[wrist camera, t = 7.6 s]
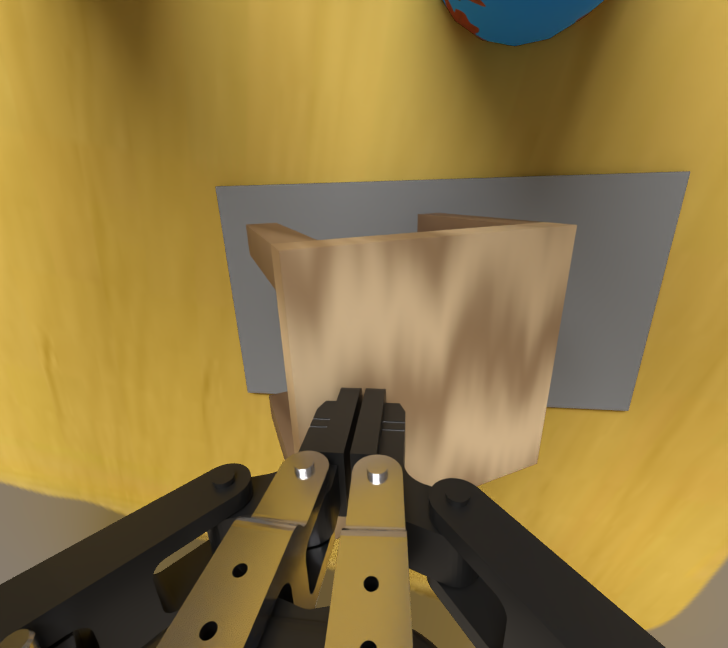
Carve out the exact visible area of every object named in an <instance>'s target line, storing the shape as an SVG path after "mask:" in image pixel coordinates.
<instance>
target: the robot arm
mask: <svg viewBox="0 0 728 648" xmlns="http://www.w3.org/2000/svg"><path fill="white" fill-rule="evenodd" d="M338 516H341V517H346V525H345V528H342V530H341V533H340V539H339V546H338V554H337V561H336V568H335V576H334V583H333V590H332V598H331V605H330V606H328V607H322V608H316V609H315V607H316V602H317V599H318V596H319V592H320V589H321V586H322V582H323V579H324V576H325V572H326V569H327V565H328V562H329V559H330V555H331V552H332V549H333V545H334V542H335V528H336V524H337V519H338ZM205 532H207V533H208V537H209V540H208V541H206V542H205V543H203V544H202V545H200V546H199V547H197V548H196V549H194V550H193V551H191V552H190V553H188V554H187V555H185V556H184V557H182V558H181V559H179V560H178V561H177V562H175V563H173V564H172V565H170V566H169V567H167V568H166V569H164V570H163V571H161V572H159V573H157V574H153V573H154V571H155V569H156V567H157V566H158V565H159V563H160V562H161V561H163V560H164V559H165V558H167V557H168V556H170V555H171V554H173V553H174V552H176V551H177V550H179V549H180V548H182V547H184V546H185V545H187V544H188V543H190V542H191V541H193V540H194V539H196V538H197V537H199V536H200V535H202V534H204V533H205ZM409 569H412V570H414V571H416V572H418V573H421V574H423V575H425V576H427V580H428V583H429V585H430V587H431V589H432V590H433V591H434V593H435V594H436V595H437V597H438V598H439V599H440V601H441V602H442V603H443V605H444V606H445V607H446V609H447V610H448V611H449V613H450V614H451V615H452V617H453V618H454V619H455V621H456V622H457V623H458V625H459V626H460V627H461V628H462V630H463V631H464V633H465V634H466V635H467V637H468V638H469V639H470V641H471V642H472V643H473V645H474V646H475V647H476V648H665V647H664V646H663V645H662V644H661V643H660V642H658V641H657V640H656V639H655V638H654V637H652V636H651V635H650V634H649V633H648V632H647V631H645V630H644V629H643V628H642V627H641V626H640V625H638V624H637V623H636V622H635V621H634V620H633V619H631V618H630V617H629V616H628V615H627V614H625V613H624V612H623V611H622V610H621V609H620V608H618V607H617V606H616V605H615V604H614V603H613V602H611V601H610V600H609V599H608V598H607V597H606V596H604V595H603V594H602V593H601V592H600V591H598V590H597V589H596V588H595V587H594V586H593V585H591V584H590V583H589V582H588V581H587V580H586V579H584V578H583V577H582V576H581V575H580V574H579V573H577V572H576V571H575V570H574V569H573V568H572V567H570V566H569V565H568V564H567V563H566V562H564V561H563V560H562V559H561V558H560V557H559V556H557V555H556V554H555V553H554V552H553V551H552V550H550V549H549V548H548V547H547V546H546V545H545V544H543V543H542V542H541V541H540V540H539V539H537V538H536V537H535V536H534V535H533V534H532V533H530V532H529V531H528V530H527V529H526V528H525V527H523V526H522V525H521V524H520V523H519V522H518V521H516V520H515V519H514V518H513V517H512V516H510V515H509V514H508V513H507V512H506V511H505V510H503V509H502V508H501V507H500V506H499V505H498V504H496V503H495V502H494V501H493V500H492V499H491V498H489V497H488V496H487V495H486V494H485V493H483V492H482V491H481V490H480V489H479V488H478V487H476V486H475V485H474V484H472V483H470V482H468V481H466V480H463V479H458V478H446V479H442V480H440V481H438V482H436V483H435V484H434V485H433V486H429V485H426V484H423V483H421V482H418V481H417V480H415V479H414V478H412V477H411V476H410V475H409V474H408V473H407V471H406V469H405V410H404V409H403V407H402V406H401V404H400V403H386V389H376V388H366V389H365V393H364V397H363V395H362V388H343V387H342V388H341V389H340V392H339V395H338V398H337V400H336V401H325V402H324V403H323V404H322V405H321V406H320V407H318V408H317V410H316V413H315V415H314V417H313V420H312V422H311V424H310V427H309V429H308V431H307V433H306V436H305V438H304V440H303V442H302V445H301V447H300V449H299V452H298V453H295V454H293V455H291V456H289V457H288V458H287V459H285V461H284V462H283V463H282V464H281V466H280V468H279V470H278V471H277V472H274V473H271V474H266V475H260V476H255V477H251V474H250V471H249V469H248V468H247V467H246V466H244V465H241V464H235V463H234V464H225V465H222V466H219V467H216V468H214V469H212V470H210V471H209V472H207V473H205V474H203V475H201V476H199V477H198V478H196V479H194V480H192V481H190V482H188V483H187V484H185V485H183V486H181V487H179V488H177V489H176V490H174V491H172V492H170V493H168V494H166V495H164V496H163V497H161V498H159V499H157V500H155V501H153V502H152V503H150V504H148V505H146V506H144V507H142V508H141V509H139V510H137V511H135V512H133V513H131V514H129V515H128V516H126V517H124V518H122V519H120V520H118V521H117V522H115V523H113V524H111V525H109V526H108V527H106V528H104V529H102V530H100V531H98V532H96V533H94V534H93V535H91V536H89V537H87V538H85V539H83V540H82V541H80V542H78V543H76V544H74V545H72V546H71V547H69V548H67V549H65V550H63V551H62V552H60V553H58V554H56V555H54V556H52V557H50V558H48V559H47V560H45V561H43V562H41V563H39V564H38V565H36V566H34V567H32V568H30V569H28V570H26V571H25V572H23V573H21V574H19V575H17V576H15V577H13V578H12V579H10V580H8V581H6V582H4V583H2V584H1V585H0V648H437V647H436V646H435V645H434V644H433V643H432V642H431V641H429V640H428V639H427V638H425V637H424V636H423V635H422V634H420V633H418V632H417V631H415V630H413V629H412V621H411V601H410V583H409Z"/></svg>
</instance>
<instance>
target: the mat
mask: <svg viewBox="0 0 728 648" xmlns="http://www.w3.org/2000/svg"><path fill="white" fill-rule="evenodd" d="M689 175H690V171H688V172H656V173H625V174H594V175H562V176H531V177H500V178H468V179H437V180H406V181H374V182H343V183H312V184H280V185H249V186H217V187H216V193H217V200H218V206H219V212H220V219H221V225H222V231H223V238H224V244H225V250H226V257H227V263H228V269H229V276H230V282H231V288H232V295H233V301H234V307H235V314H236V320H237V326H238V333H239V339H240V345H241V352H242V358H243V364H244V371H245V377H246V383H247V390H248V392H249V393H269V394H278V393H282V392H287V382H286V374H285V365H284V356H283V348H282V339H281V330H280V321H279V313H278V304H277V295H276V290H275V289H274V287H273V286H272V285H271V283H270V282H269V281H268V279H267V278H266V276H265V275H264V274H263V272H262V271H261V269H260V268H259V267H258V265H257V264H256V263H255V261H254V260H253V258H252V257H251V256H250V252H249V245H248V237H247V230H246V224H262V223H278V224H281V225H283V226H285V227H288V228H290V229H292V230H295V231H297V232H299V233H302V234H304V235H306V236H309V237H311V238H314V239H316V240H327V239H339V238H352V237H364V236H377V235H389V234H402V233H414V232H417V225H418V214H429V213H447V214H459V215H470V216H481V217H493V218H504V219H516V220H527V221H539V222H550V223H561V224H573V225H577V229H576V235H575V241H574V247H573V252H572V258H571V264H570V270H569V276H568V282H567V288H566V294H565V300H564V306H563V312H562V318H561V324H560V330H559V336H558V341H557V347H556V353H555V359H554V365H553V371H552V377H551V383H550V389H549V395H548V401H547V407H560V408H581V409H602V410H622V411H628V410H629V406H630V402H631V398H632V395H633V391H634V387H635V383H636V379H637V375H638V371H639V368H640V364H641V360H642V356H643V352H644V348H645V345H646V341H647V337H648V333H649V329H650V325H651V321H652V318H653V314H654V310H655V306H656V302H657V298H658V295H659V291H660V287H661V283H662V279H663V275H664V271H665V268H666V264H667V260H668V256H669V252H670V248H671V245H672V241H673V237H674V233H675V229H676V225H677V221H678V218H679V214H680V210H681V206H682V202H683V198H684V194H685V191H686V187H687V183H688V179H689Z"/></svg>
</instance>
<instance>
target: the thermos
mask: <svg viewBox="0 0 728 648" xmlns="http://www.w3.org/2000/svg"><path fill="white" fill-rule="evenodd" d="M603 1H604V0H443V2H444V4H445V5H446V7H447V8H448V10H449V12H450V13H451V15H452V17H453V18H454V20H455V21H456V22H457V23H459V24H460V25H462V26H463V27H465V28H466V29H467V30H469V31H470V32H472V33H473V34H474V35H476V36H477V37H479V38H480V39H481V40H485V41H490V42H495V43H500V44H506V45H511V46H517V45H522V44H527V43H531V42H536V41H541V40H545V39H549V38H551V37H553V36H554V35H556V34H558V33H559V32H561V31H562V30H564V29H566V28H567V27H569V26H570V25H572V24H574V23H575V22H577V21H579V20H580V19H582V18H583V17H585V16H586V15H587V14H588V13H589V12H591V11H592V10H593V9H594V8H595V7H597V6H598V5H599V4H600V3H601V2H603Z"/></svg>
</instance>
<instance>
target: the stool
mask: <svg viewBox="0 0 728 648" xmlns="http://www.w3.org/2000/svg"><path fill="white" fill-rule="evenodd" d="M576 229H577V225H573V224H561V223H550V222H539V221H527V220H516V219H504V218H493V217H481V216H470V215H459V214H447V213H429V214H418V225H417V232H414V233H402V234H389V235H377V236H364V237H352V238H339V239H327V240H316V239H314V238H311V237H309V236H306V235H304V234H302V233H299V232H297V231H295V230H292V229H290V228H288V227H285V226H283V225H281V224H278V223H262V224H246V230H247V237H248V245H249V252H250V256H251V257H252V258H253V260H254V261H255V263H256V264H257V265H258V267H259V268H260V269H261V271H262V272H263V274H264V275H265V276H266V278H267V279H268V281H269V282H270V283H271V285H272V286H273V287H274V289H275V290H276V295H277V304H278V313H279V321H280V330H281V339H282V348H283V356H284V365H285V374H286V382H287V392H282V393H278V394H273V395H269V399H270V407H271V414H272V419H273V422H274V426H275V429H276V432H277V436H278V439H279V442H280V446H281V449H282V452H283V456H284V459H287V458H288V457H289V456H291V455H293V454H295V453H298V452H299V449H300V447H301V445H302V442H303V440H304V438H305V436H306V433H307V431H308V429H309V427H310V424H311V422H312V420H313V417H314V415H315V413H316V410H317V408H318V407H320V406H321V405H322V404H323V403H324V402H325V401H336V400H337V398H338V395H339V392H340V389H341V388H342V387H343V388H362V395H363V397H364V393H365V389H366V388H376V389H386V403H400V404H401V406H402V407H403V409H404V410H405V469H406V471H407V473H408V474H409V475H410V476H411V477H412V478H414V479H415V480H417V481H418V482H421V483H423V484H426V485H429V486H433V485H434V484H435V483H436V482H438V481H440V480H442V479H446V478H458V479H463V480H466V481H468V482H470V483H472V484H474V485H475V486H479V485H481V484H484V483H486V482H489V481H492V480H494V479H497V478H500V477H502V476H505V475H508V474H510V473H513V472H516V471H518V470H521V469H524V468H526V467H529V466H532V465H534V464H537V460H538V454H539V448H540V442H541V436H542V430H543V424H544V419H545V413H546V407H547V401H548V395H549V389H550V383H551V377H552V371H553V365H554V359H555V353H556V347H557V341H558V336H559V330H560V324H561V318H562V312H563V306H564V300H565V294H566V288H567V282H568V276H569V270H570V264H571V258H572V252H573V247H574V241H575V235H576ZM345 525H346V517H341V516H338V519H337V524H336V528H335V539H338V538H340V533H341V530H342V528H345Z"/></svg>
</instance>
